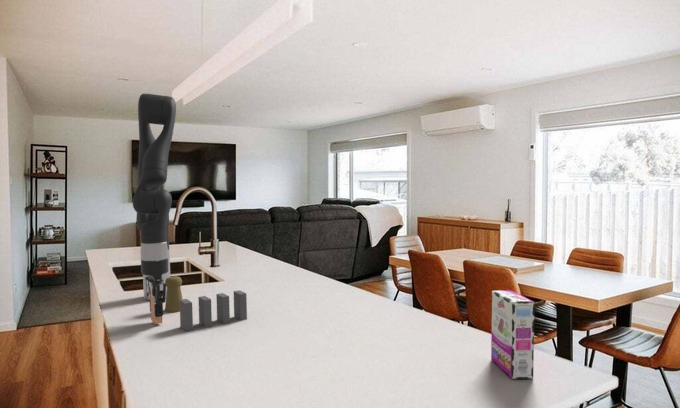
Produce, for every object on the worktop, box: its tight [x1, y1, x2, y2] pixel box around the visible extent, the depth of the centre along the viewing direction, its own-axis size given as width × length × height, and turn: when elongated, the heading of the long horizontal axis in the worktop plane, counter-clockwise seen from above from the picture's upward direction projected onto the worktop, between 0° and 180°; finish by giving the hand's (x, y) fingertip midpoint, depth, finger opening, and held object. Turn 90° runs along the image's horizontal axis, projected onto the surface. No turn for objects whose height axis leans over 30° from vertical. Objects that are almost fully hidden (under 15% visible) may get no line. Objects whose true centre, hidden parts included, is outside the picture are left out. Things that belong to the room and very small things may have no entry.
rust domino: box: [149, 294, 163, 325], centre depth 138 cm, size 5×2×8 cm, turn 35°
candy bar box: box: [490, 289, 535, 380], centre depth 102 cm, size 11×5×16 cm, turn 5°
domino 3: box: [215, 292, 231, 325], centre depth 140 cm, size 5×2×8 cm, turn 36°
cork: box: [164, 275, 184, 314], centre depth 153 cm, size 6×6×11 cm
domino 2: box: [197, 295, 213, 329], centre depth 136 cm, size 5×2×8 cm, turn 36°
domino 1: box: [179, 298, 194, 332], centre depth 133 cm, size 5×2×8 cm, turn 36°
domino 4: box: [233, 289, 248, 321], centre depth 143 cm, size 5×2×8 cm, turn 36°
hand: (156, 313), depth 138 cm, fingers closed on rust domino, 5 cm apart
